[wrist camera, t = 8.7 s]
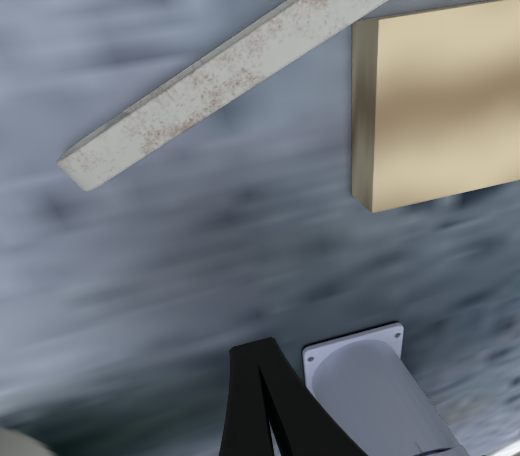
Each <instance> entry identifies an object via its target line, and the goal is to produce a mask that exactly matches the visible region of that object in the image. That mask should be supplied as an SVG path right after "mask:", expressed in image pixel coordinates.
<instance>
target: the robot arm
mask: <svg viewBox="0 0 520 456" xmlns="http://www.w3.org/2000/svg"><path fill="white" fill-rule="evenodd" d="M403 330H404V328H403V326H402V325H401V324H400V323H393V324H390V325H386V326H382V327H378V328H375V329H371V330H367V331H364V332H360V333H356V334H353V335H349V336H345V337H341V338H338V339H334V340H330V341H327V342H323V343H319V344H316V345H312V346H308V347H306V348H305V349H304V350H303V352H302V354H303V364H304V374H305V384H306V386H305V385H304V383H303V382H302V381H301V379H300V378H299V377H298V375H297V374H296V372H295V371H294V370H293V368H292V367H291V365H290V364H289V362H288V361H287V359H286V358H285V356H284V354H283V353H282V351H281V349H280V348H279V346H278V344H277V342H276V340H275V339H274V338H272V337H269V338H265V339H261V340H258V341H254V342H250V343H246V344H243V345H239V346H235V347H232V348H231V349H230V351H229V353H230V383H229V395H228V403H227V411H226V419H225V425H224V430H223V436H222V441H221V447H220V452H219V456H274V449H273V443H272V437H271V431H270V424H271V427H272V430H273V433H274V436H275V439H276V442H277V445H278V448H279V451H280V454H281V456H469V454H468V453H467V451H466V450H465V449H464V447H463V446H462V445H460V444H459V442H458V441H457V439H456V438H455V437H454V435H453V434H452V432H451V431H450V429H449V428H448V427H447V425H446V424H445V422H444V421H443V419H442V418H441V417H440V415H439V414H438V412H437V411H436V409H435V408H434V407H433V405H432V404H431V402H430V401H429V399H428V398H427V397H426V395H425V394H424V392H423V391H422V389H421V388H420V387H419V385H418V384H417V382H416V381H415V379H414V378H413V377H412V375H411V374H410V372H409V371H408V370H407V368H406V367H405V365H404V364H403V362H402V361H401V360H400V358H401V349H402V339H403ZM269 421H270V424H269ZM482 456H485V455H482Z"/></svg>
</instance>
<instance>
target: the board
mask: <svg viewBox="0 0 520 456" xmlns="http://www.w3.org/2000/svg"><path fill="white" fill-rule="evenodd" d="M516 180H520V0H487V1H480V2H474V3H467V4H461V5H454V6H448V7H441V8H435V9H428V10H422V11H416V12H409V13H403V14H396V15H390V16H383V17H377V18H370V19H364V20H357V21H355V22H354V23H352V195H353V196H354V197H355V198H356V199H357V200H358V201H359V202H360V203H361V204H362V205H364V206H365V207H366V208H367V209H368V210H369V211H370V212H371V213H375V212H379V211H384V210H388V209H392V208H397V207H401V206H406V205H410V204H414V203H419V202H423V201H428V200H432V199H436V198H441V197H445V196H450V195H454V194H459V193H463V192H467V191H472V190H476V189H481V188H485V187H489V186H494V185H498V184H503V183H507V182H511V181H516Z"/></svg>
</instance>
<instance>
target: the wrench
mask: <svg viewBox="0 0 520 456" xmlns="http://www.w3.org/2000/svg"><path fill="white" fill-rule="evenodd" d="M386 1H388V0H286V1H285V2H283V3H282V4H280V5H279V6H277V7H276V8H274V9H273V10H271V11H270V12H268V13H267V14H265V15H264V16H262V17H261V18H260V19H258V20H257V21H255V22H254V23H252V24H251V25H249V26H248V27H246V28H245V29H243V30H242V31H240V32H239V33H237V34H236V35H234V36H233V37H232V38H230V39H229V40H227V41H226V42H224V43H223V44H221V45H220V46H218V47H217V48H215V49H214V50H212V51H211V52H209V53H208V54H207V55H205V56H204V57H202V58H201V59H199V60H198V61H196V62H195V63H193V64H192V65H190V66H189V67H187V68H186V69H184V70H183V71H182V72H180V73H179V74H177V75H176V76H174V77H173V78H171V79H170V80H168V81H167V82H165V83H164V84H162V85H161V86H159V87H158V88H156V89H155V90H153V91H152V92H150V93H149V94H148V95H146V96H145V97H143V98H142V99H140V100H139V101H137V102H136V103H134V104H133V105H131V106H130V107H128V108H127V109H125V110H124V111H122V112H121V113H120V114H118V115H117V116H115V117H114V118H112V119H111V120H109V121H108V122H106V123H105V124H103V125H102V126H101V127H99V128H98V129H96V130H95V131H93V132H92V133H91V134H89V135H88V136H86V137H85V138H83V139H82V140H80V141H79V142H78V143H76V144H75V145H74V146H72V147H71V148H70V149H69V150H67V151H66V152H65V153H64V154H63V155H62V156H61V157H60V158H59V159H58V160H57V164H58V165H59V166H60V167H61V168H62V169H63V170H64V171H65V172H66V173H67V174H68V175H69V176H70V177H71V178H72V179H73V180H74V181H75V182H76V183H77V184H78V185H79V186H80V187H81V188H82V189H83V190H84V191H85V192H87V191H90V190H93V189H95V188H97V187H98V186H100V185H102V184H103V183H105V182H107V181H108V180H110V179H111V178H113V177H114V176H116V175H117V174H119V173H121V172H122V171H124V170H125V169H127V168H128V167H130V166H131V165H133V164H135V163H136V162H138V161H139V160H141V159H142V158H144V157H145V156H147V155H149V154H150V153H152V152H153V151H155V150H156V149H158V148H159V147H161V146H163V145H164V144H166V143H167V142H169V141H170V140H172V139H173V138H175V137H177V136H178V135H180V134H181V133H183V132H184V131H186V130H187V129H189V128H190V127H192V126H194V125H195V124H197V123H198V122H200V121H201V120H203V119H204V118H206V117H208V116H209V115H211V114H212V113H214V112H215V111H217V110H218V109H220V108H222V107H223V106H225V105H226V104H228V103H229V102H231V101H232V100H234V99H236V98H237V97H239V96H240V95H242V94H243V93H245V92H246V91H248V90H250V89H251V88H253V87H254V86H256V85H257V84H259V83H260V82H262V81H264V80H265V79H267V78H268V77H270V76H271V75H273V74H274V73H276V72H278V71H279V70H281V69H282V68H284V67H285V66H287V65H288V64H290V63H292V62H293V61H295V60H296V59H298V58H299V57H301V56H302V55H304V54H305V53H307V52H309V51H310V50H312V49H313V48H315V47H316V46H318V45H319V44H321V43H323V42H324V41H326V40H327V39H329V38H330V37H332V36H333V35H335V34H337V33H338V32H340V31H341V30H343V29H344V28H346V27H347V26H349V25H351V24H352V23H354V22H355V21H357V20H358V19H360V18H361V17H363V16H365V15H366V14H368V13H369V12H371V11H372V10H374V9H375V8H377V7H379V6H380V5H382V4H383V3H385V2H386Z"/></svg>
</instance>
